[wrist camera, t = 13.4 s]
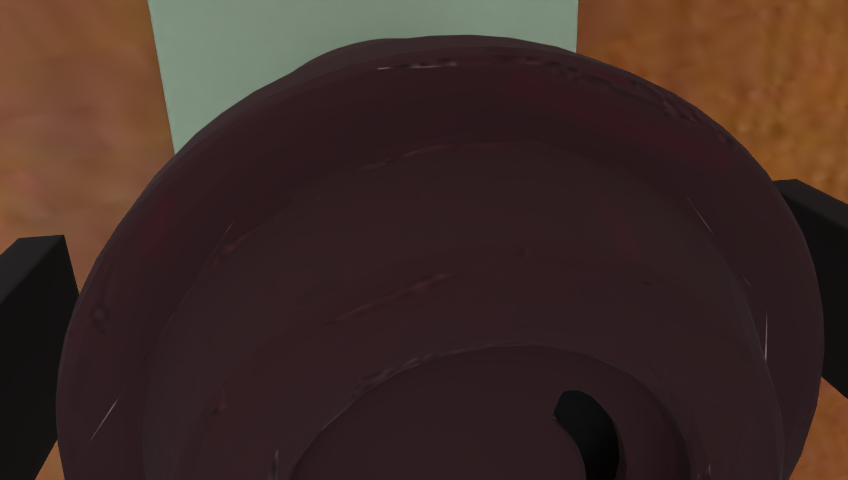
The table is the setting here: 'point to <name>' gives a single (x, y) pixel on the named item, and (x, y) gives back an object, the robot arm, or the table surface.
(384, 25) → the mat
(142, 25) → the table surface
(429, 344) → the coffee cup
